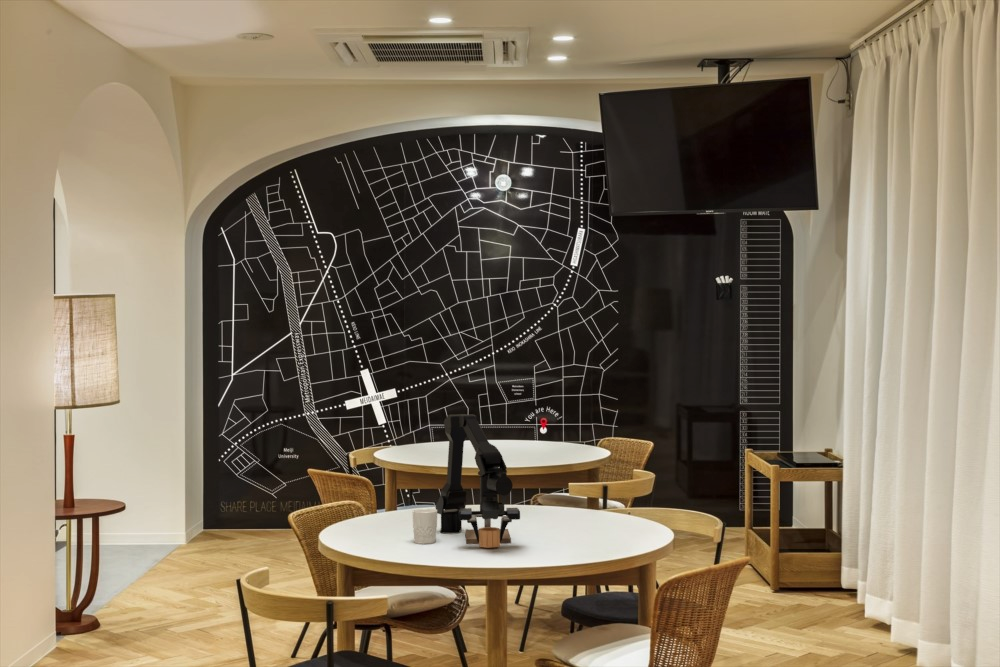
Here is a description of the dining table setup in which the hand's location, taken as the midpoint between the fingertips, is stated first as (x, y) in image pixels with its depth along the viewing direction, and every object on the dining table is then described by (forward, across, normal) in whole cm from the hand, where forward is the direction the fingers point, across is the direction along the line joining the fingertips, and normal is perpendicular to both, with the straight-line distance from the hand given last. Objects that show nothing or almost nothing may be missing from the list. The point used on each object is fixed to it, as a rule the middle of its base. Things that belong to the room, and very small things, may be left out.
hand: (489, 542), depth 297 cm
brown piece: (+2, 0, +14) cm, 14 cm away
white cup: (+2, -20, +10) cm, 22 cm away
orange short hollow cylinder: (+1, 0, 0) cm, 1 cm away
